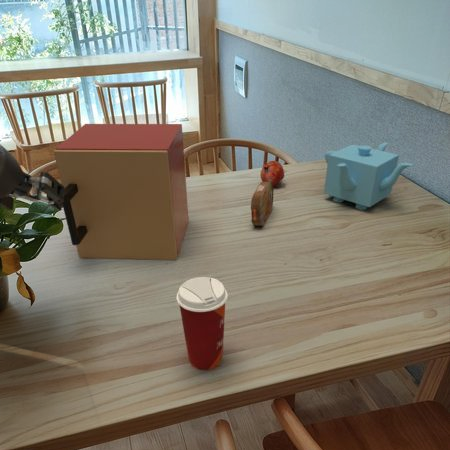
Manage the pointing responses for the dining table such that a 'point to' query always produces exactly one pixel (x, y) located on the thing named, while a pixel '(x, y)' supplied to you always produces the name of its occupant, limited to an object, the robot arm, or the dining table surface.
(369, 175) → the teakettle
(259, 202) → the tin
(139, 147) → the cabinet
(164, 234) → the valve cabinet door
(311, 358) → the dining table surface
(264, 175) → the pomegranate
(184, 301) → the paper cup
